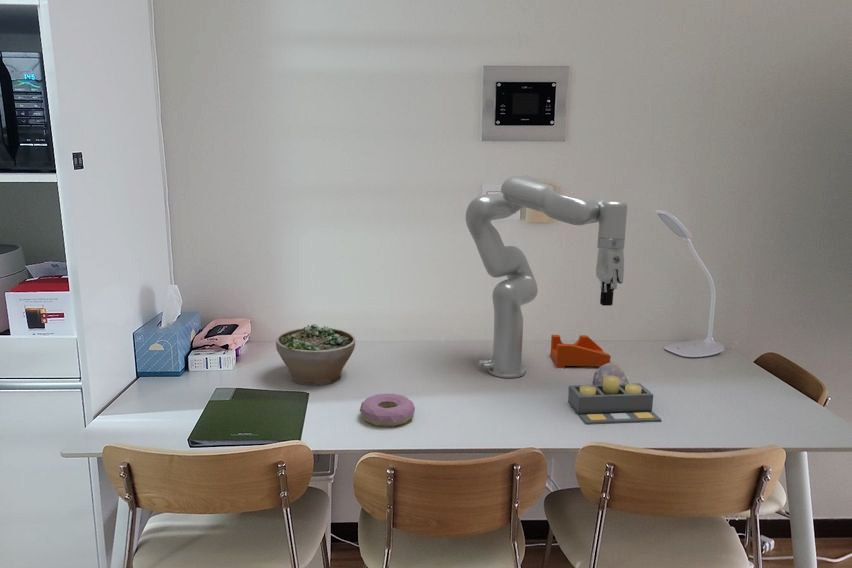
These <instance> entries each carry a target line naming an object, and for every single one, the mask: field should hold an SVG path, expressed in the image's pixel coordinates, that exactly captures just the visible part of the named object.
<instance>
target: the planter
mask: <svg viewBox="0 0 852 568" xmlns="http://www.w3.org/2000/svg"><path fill="white" fill-rule="evenodd" d="M355 346H356V337H354V335H353V334H352V333H350V332H348V331H346V330H342V329H336V328H332V327H329V326H328V325H327V326H325V325H323V327H319V325H318V324H317V323H313V324H311V325H309V324H308V325H307V326H305V327H302V328H297V329H292V330H289V331H286V332H285V331H284V332H283V333H281V334H280V335H278V336H277V338H276V340H275V347H276V352H277V353H278V354H279V356H280V358H281V360H282V361H283V363H284V365H285V367H286V368H287V369H288V372H289V373H290V380H291V381H292V382H293V383H294V384H297V385H301V386H308V387H317V386H318V387H321V386H326V385H327V386H328V385H330V384H333V383H336V382H338V381H340V379H341V374H342V371H343V369H344V367H345V366H346V364H347V362H348V361H349V359H350V358H351V357H352V354H353V352H354V350H355Z"/></svg>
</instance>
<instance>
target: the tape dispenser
mask: <svg viewBox="0 0 852 568" xmlns="http://www.w3.org/2000/svg"><path fill="white" fill-rule="evenodd" d="M550 358H551V360H552V361H554V362H553V363H555V364H554V366H555V365H556V366H555V368H556V369H565V367H566V366H568V367H569V366H573V367H575V366H576V367H601V366H602V365H604V364H607V363H611V355H610V354H609V353H608V352H607V353H606V352H604V350H603V348H602V347H601V346H599V344H597V343H596V342H595V341H594V340H593V339H592V338H590V337H589V336H588V335H581V334H579V338H578V339H577V341H576V342H575V343H564V342H562V340H561V336H560V334H551V339H550Z"/></svg>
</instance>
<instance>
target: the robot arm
mask: <svg viewBox="0 0 852 568" xmlns="http://www.w3.org/2000/svg"><path fill="white" fill-rule="evenodd" d="M523 208H527V209H530V210H533V211H536V212H540V213H543V214H544V215H545V216H547V217H549V218H551V219H553V220H556V221H558V222H562V223H566V224H569V225H573V226H584V225H589V224H594V223H598V234H597V243H596V244H597V246H596V249H598V252H597V256H596V257H597V259H596V266H595V267H596V268H595V276H596V278H597V279H598V281H599V283H600V299H599V304H600V305H601V306H604V307H605V306H608V307H609V306H610V307H611V306H613V305H614V303H613V302H614V293H615V290H616V289H617V288H618V284H619V285H620V284H623V282H624V276H625V275H624V272H625V254H624V250H625V241H626V239H625V238H626V230H627V229H626V228H627V219H628V218H627V217H628V204H627V202H626V201H624V200H617V199H604V198H600V197H594V196H593V197H591V196H590V197H585V198H574V197H569V196H566V195H563V194H560V193H557V192H556V190H555V187H554V186H552V185H551V184H546V183H543V182H540V181H538V179H536V178H535V177H533V176H531V175H517V176H511V177H509V178H507V179H505V180H504V181H503V182H502V184H501V187H500V192H498V193H490V194H488V193H487V194H482V195H479V196H476V197H474V198H473V199H472V200H471V202H469V204H468V206H467V208H466V211H465V223H466V227H467V229H468V231H469V233H470V236H471V237H472V239H473V242H474V243H475V246H476V249H477V250H478V254H479V256H480V259H481V261H482V263H483V265H484V266H483V267H484V268H485V270H486V272H487V274H488V276H490V277H492V278H494V279H495V278H496V279H497V278H502V277H506V278H507V279H504V280H502V281H500V282H498V283H497V284H496V285H495V287H494V289H492V290H493V291H492V296H491V297H492V304H493V319H494V321H493V345H492V347H493V348H492V356H490V358H488V359H487V360H484V359H480V360H478V366H479V367H482V366H483V368H484V369H485V368H487V372H488V373H489V374H491V375H492V376H494V377H497V378H498V377H499V378H504V379H505V378H506V379H514V378H520V377H522V376H524V375H525V374H526V369H527V368H526V367H524V366H523V365H522V358H523V357H522V356H523V339H524V338H523V336H524V335H523V334H524V317H523V312H522V308H521V306H525V305H527V304H529V303H531V302H533V301H534V300H535V299H536V297H537V295H538V288H539V287H538V284H537V281H536V278H535V276H534V273H533V271H532V269H531V267H530V263H529V261H528V259H527V256H526V255H525V254H524V252H523V251H522V250H521V249H520V248H519V247H517V246H514V245H508V246H507V245H505V244H504V242H503V240H502V238H501V237H502V236H501V234H500V233H499V230H497V228H496V227H495V226H494V225H493V224H492V221H496V220H501V219H502V220H503V219H505V218H506V219H507V218H509V217H511V216H513V215H514V214H516V213H517V212H519V211H521V210H522V209H523Z"/></svg>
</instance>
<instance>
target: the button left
mask: <svg viewBox="0 0 852 568" xmlns="http://www.w3.org/2000/svg"><path fill="white" fill-rule="evenodd" d="M582 385H583V386H580V392H579V393H580V394H581V395H582V396H583V395H596V388H595V387H593V386H589V385H590V384H582Z"/></svg>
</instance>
